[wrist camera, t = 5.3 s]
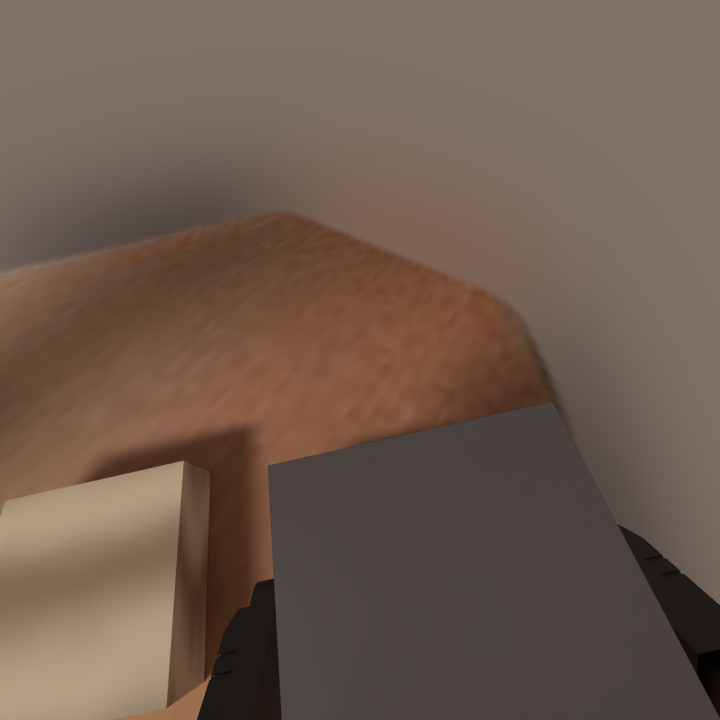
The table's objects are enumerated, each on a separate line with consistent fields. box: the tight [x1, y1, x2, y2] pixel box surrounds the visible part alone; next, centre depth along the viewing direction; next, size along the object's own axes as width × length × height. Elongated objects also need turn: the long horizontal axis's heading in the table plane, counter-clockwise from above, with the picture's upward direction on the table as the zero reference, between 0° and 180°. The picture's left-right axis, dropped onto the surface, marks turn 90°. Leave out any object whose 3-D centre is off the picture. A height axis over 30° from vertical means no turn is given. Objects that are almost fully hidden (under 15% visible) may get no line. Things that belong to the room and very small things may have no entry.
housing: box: [268, 402, 720, 720], centre depth 9 cm, size 6×5×12 cm
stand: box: [0, 461, 210, 720], centre depth 17 cm, size 10×10×3 cm
